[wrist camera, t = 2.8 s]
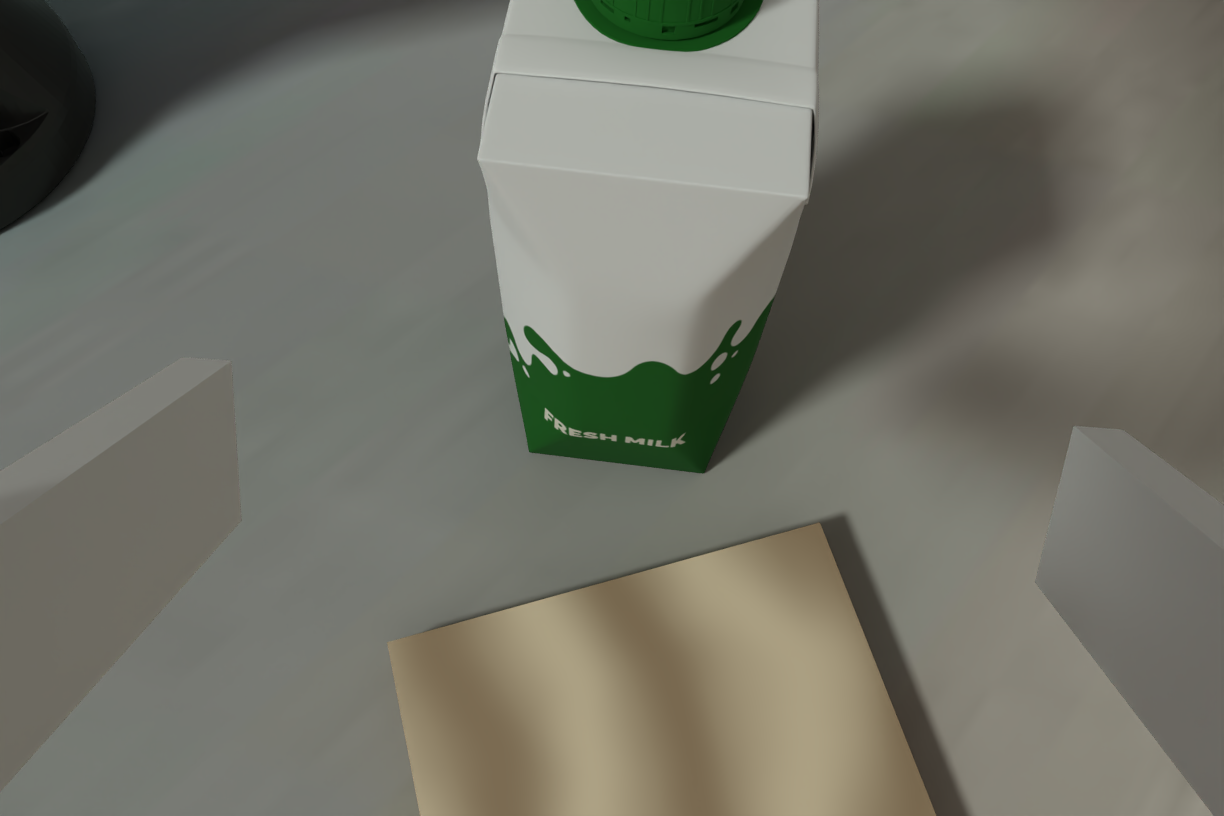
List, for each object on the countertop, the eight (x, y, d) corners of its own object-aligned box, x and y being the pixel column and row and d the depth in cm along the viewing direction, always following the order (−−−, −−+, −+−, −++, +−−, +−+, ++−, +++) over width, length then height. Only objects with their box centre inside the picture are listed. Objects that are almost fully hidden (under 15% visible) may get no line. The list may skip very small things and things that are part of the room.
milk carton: (739, 303, 41) (865, -136, 23) (725, 502, 37) (862, 163, 19) (535, 279, 41) (501, -175, 23) (500, 475, 37) (426, 113, 19)
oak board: (498, 1186, 28) (494, 1203, 27) (394, 651, 34) (387, 642, 33) (994, 1004, 30) (1014, 1012, 29) (810, 534, 37) (819, 522, 35)
